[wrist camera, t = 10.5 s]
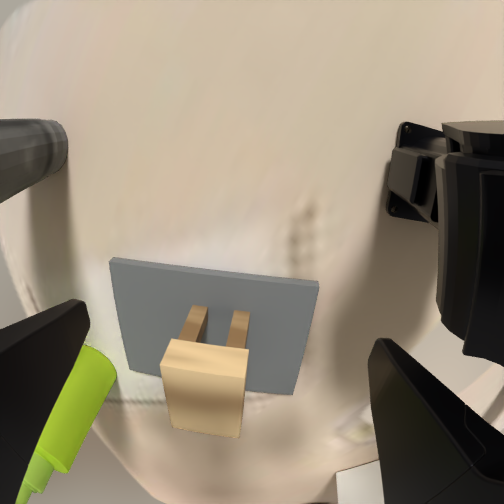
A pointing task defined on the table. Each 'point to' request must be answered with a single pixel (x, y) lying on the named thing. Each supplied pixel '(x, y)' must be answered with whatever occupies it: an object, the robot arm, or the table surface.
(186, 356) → the oak stool
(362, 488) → the milk carton
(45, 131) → the beverage cup
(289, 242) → the table surface
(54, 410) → the soap dispenser
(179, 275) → the grey rectangular board
